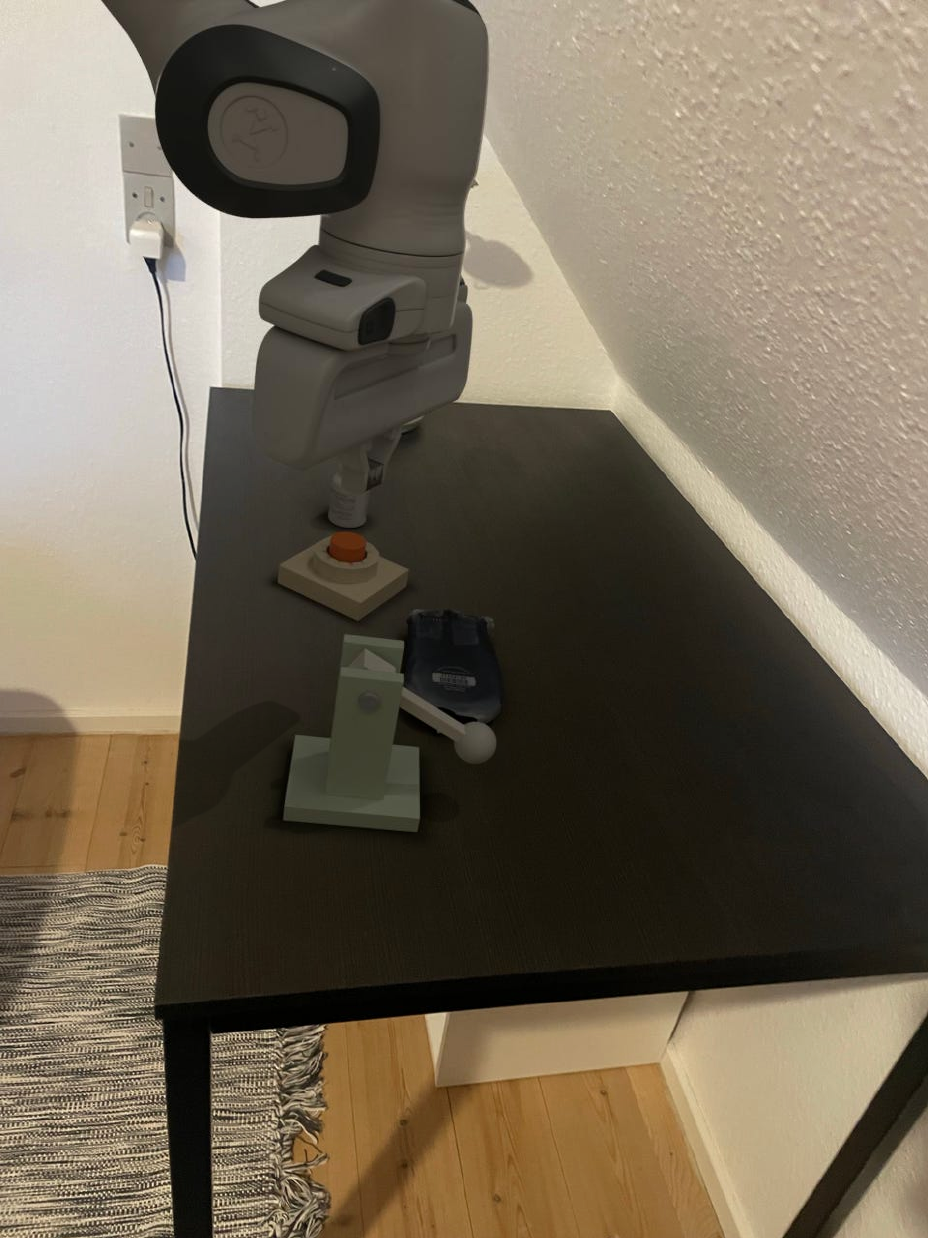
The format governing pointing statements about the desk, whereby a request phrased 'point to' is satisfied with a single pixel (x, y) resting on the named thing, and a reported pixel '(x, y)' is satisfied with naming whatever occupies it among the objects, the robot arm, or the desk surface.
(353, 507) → the pill bottle
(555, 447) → the desk surface
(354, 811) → the switch base
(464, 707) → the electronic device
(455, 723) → the switch lever
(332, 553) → the power button
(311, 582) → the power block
